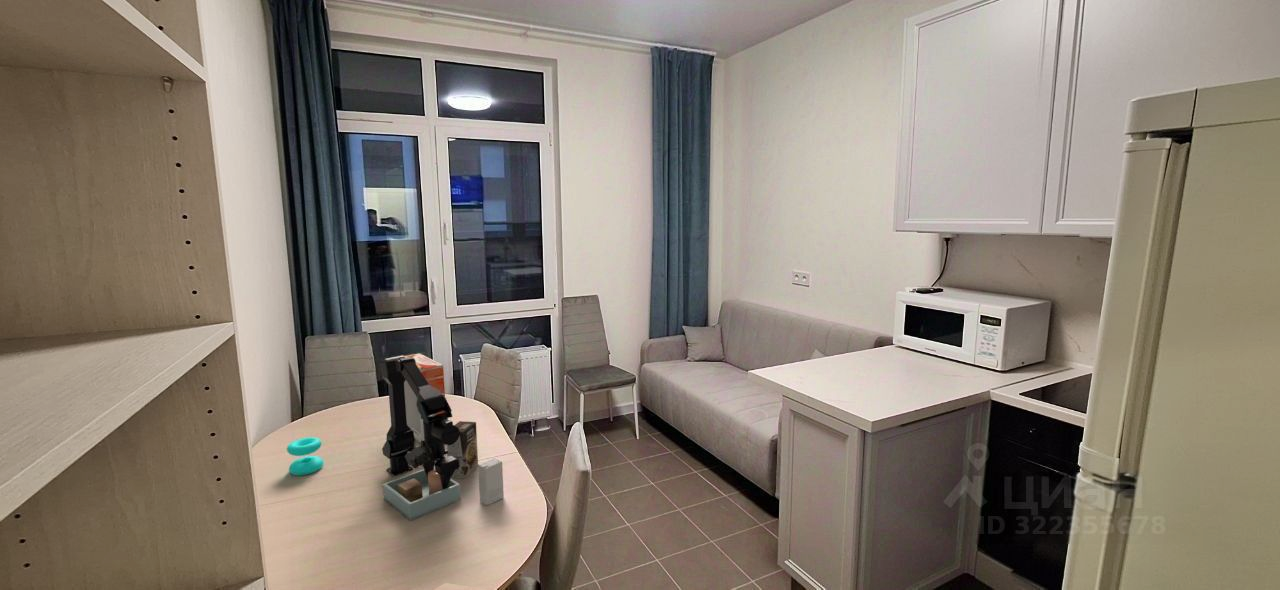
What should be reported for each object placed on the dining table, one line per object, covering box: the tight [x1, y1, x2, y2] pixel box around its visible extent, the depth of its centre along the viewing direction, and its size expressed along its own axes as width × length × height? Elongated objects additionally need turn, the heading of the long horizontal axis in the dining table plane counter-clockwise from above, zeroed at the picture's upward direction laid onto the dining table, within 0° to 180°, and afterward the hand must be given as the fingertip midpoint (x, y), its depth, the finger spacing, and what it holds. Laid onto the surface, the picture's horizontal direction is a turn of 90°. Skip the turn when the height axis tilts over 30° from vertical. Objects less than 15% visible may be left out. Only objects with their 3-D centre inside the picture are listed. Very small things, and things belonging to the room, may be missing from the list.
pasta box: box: [403, 352, 446, 443], centre depth 211 cm, size 23×8×30 cm, turn 43°
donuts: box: [286, 436, 324, 476], centre depth 184 cm, size 10×10×10 cm
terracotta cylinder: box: [428, 469, 443, 495], centre depth 167 cm, size 5×5×7 cm
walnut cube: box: [398, 479, 423, 502], centre depth 164 cm, size 5×5×5 cm
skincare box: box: [477, 457, 505, 506], centre depth 164 cm, size 6×4×12 cm
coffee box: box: [446, 421, 479, 479], centre depth 182 cm, size 9×6×16 cm
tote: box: [382, 467, 462, 522], centre depth 165 cm, size 18×16×5 cm
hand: (437, 483), depth 167 cm, fingers open, 9 cm apart
